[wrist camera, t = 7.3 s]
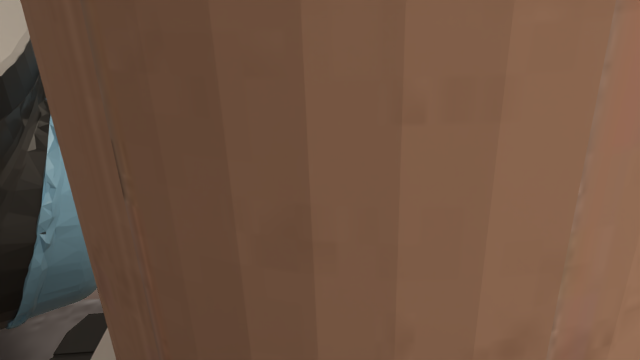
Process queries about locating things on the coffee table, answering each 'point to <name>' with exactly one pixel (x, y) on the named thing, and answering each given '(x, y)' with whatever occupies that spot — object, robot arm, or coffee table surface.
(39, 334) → the coffee table surface
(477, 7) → the travel mug
